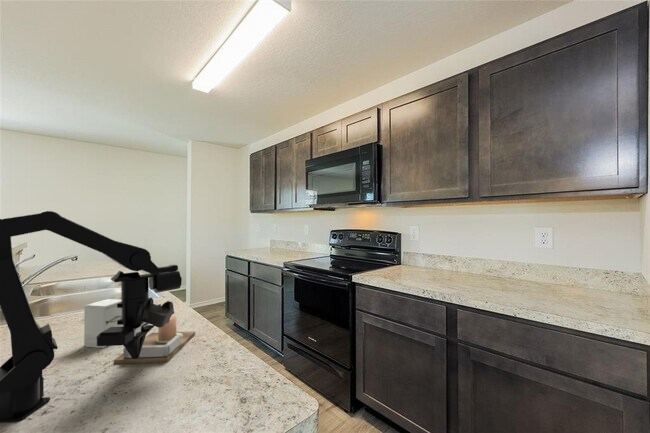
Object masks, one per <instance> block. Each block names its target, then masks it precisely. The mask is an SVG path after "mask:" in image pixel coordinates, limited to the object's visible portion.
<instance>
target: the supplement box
mask: <svg viewBox="0 0 650 433" xmlns="http://www.w3.org/2000/svg"><path fill="white" fill-rule="evenodd" d="M120 302H121V300H120V299H114V298H113V299H111V298H107V299H103V300H99V301H96V302H95V301H94V302H92V303H89V304H86V305H84V307H83V308H84V311H83V312H84V313H83V316H84V324H83V326H84V329H83V330H84V337H83V339H84V340H83V344H84V347H87V348H88V347H89V348H96V349H97V348H98V349H105V348H106V347H107V346H97V345H96V337H97V336H98V335H99V334H100V333H101V332H103V331H105V330H107V329H108V328H110V327H123V325H117V320H119V319H121V318H122V308H117V304H118V303H120Z"/></svg>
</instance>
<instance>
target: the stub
mask: <svg viewBox="0 0 650 433" xmlns="http://www.w3.org/2000/svg"><path fill="white" fill-rule="evenodd" d="M177 318H178V317H177V316H176V315H171V318H170V321H169V323H166V324H165V325H164V326H163V327H157V329H158V331H157V333H158V340H159V341H168V340H172V339H173V338H174V337H175V336H177V332H178V330H177V326H178V325H177V324H178V323H177Z"/></svg>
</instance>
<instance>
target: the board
mask: <svg viewBox="0 0 650 433" xmlns="http://www.w3.org/2000/svg"><path fill="white" fill-rule="evenodd" d="M195 335H196V331H194V330H193V331H177V336H180V345H179V346H178V347H177V348H175V349H174V350H173V351H172V352H171V353H170V354H169V355H168V356H160V357H138V358H137V359H132V358H124V352H123V353H122V354H120V355H119V356H116V358H115V359H113V364H114V365H116V364H119V365H120V364H121V365H122V364H143V363H147V364H148V363H168V362H169V361H170V360H171V359H172V358H173V357H174V356H175V355H176V354H177V353H178V352H179V351H180V350H181V349H182V348H183V347H184V346H185V345H187V343H188V342H189V341H191V340H192V338H194V336H195ZM169 341H170V340H168V341H159V340H158V332H150V334H148V335H146V337H145V339H144V346H154V345H166V344H167V343H168V342H169Z"/></svg>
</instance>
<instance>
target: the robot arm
mask: <svg viewBox="0 0 650 433" xmlns="http://www.w3.org/2000/svg"><path fill="white" fill-rule="evenodd" d="M42 231H48V232H50V233H53V234H56V235H58V236H61V237H64V238H65V239H67V240H70V241H72V242H75V243H77V244H79V245H82V246H85V247H87V248H89V249H92V250H94V251H97V252H98V253H101V254H103V255H105V257H107V258H109V259H111V261H112V262H115V263H117V264H118V265H120V266H121V267H123V268H125V269H128V270H129V271H130V270H131V271H132V272H125V273H124V272H123V271H121V270H118V272H117V273H116V274H115V275H114V276H112V277H111V278H110V280H111V281H112V282H114V283H120V286H121V287H120V291H121V292H120V293H121V294H120V295H121V296H120V298H121V302H120V303H118V304H117V308H122V318H121V319H119V320H117V325H123V327H110V328H108V329H107V330H105V331H103V332H101V333H100V334H99V335H98V336H97V337H96V345H97V346H106V347H118V346H119V347H120V346H124V347H123V348H126V350H127V351H128V353H129V354H130V356H131V357H132V359H137V358H138V357H139V355H140V352H141V349H142V346H143V343H144V339H145V337H147V334H148V333H149V332H150V331H151V330H152V329H153V328H155V327H156V328H158V327H163V326H164V325H165V324H166V323H169V321H170V318H171V316H174V314H175V311H174V310H175V308H174V302H172V301H170V300H166V301H165V302H164V303H163V304H160V303H159V304H156V303H155V304H154V299H153V297H150V295H149V290H150V291H152V290H153V292H154V293H155V294H157V293H162V292H167V291H168V292H169V291H174V290H178V289H181V287H182V281H183V280H182V279H183V278H182V277H181V273H180V270H179V266H178V264H169V265H166V266H160V267H159V266H157V265H156V264H155V263H154V262H153V260H152V256H151V253H150V252H149V250H147V249H145V248H143V247H140V246H136V245H132V244H128V243H124V242H121V241H117V240H114V239H112V238H109V237H107V236H105V235H103V234H100V232H97V231H94V230H92V229H90V228H88V227H86V226H83V225H81V224H79V223H77V222H75V221H72V220H70V219H68V218H66V217H65V216H64V217H63V216H62V215H60V214H59V213H57V212H55V211H52V210H45V211H42V212H40V213H34V214H33V213H32V214H27V215H21V216H19V215H18V216H14V217H7V218H0V309H1V312H2V315H3V317H4V320H5V323H6V325H7V328H8V330H9V333H10V343H11V344H10V346H11V357H9V358H8V359H7V360H6V361H5V362H3V364H2V365H0V421H10V422H19V421H18V420H20V421H22V420H23V419H25V418H26V417H28V416H29V415H31V414H32V413H34V412H35V411H36V410H38V409H39V408H40V407H41V408H42V406H44V405H45V404H47V403H48V402H50V401H51V397H49V396H48V397H44V395H45V394H44V393H45V392H44V388H45V387H44V379H45V378H44V377H43V371H44V370H45V369H46V368H47V367H48V366H50V365H51V363H52V362H53V360H55V350H57V349H58V348H59V347H58V345H57V341H56V339H55V338H54V337H53V333H52V332H53V331H52V329H51V325H50V324H49V323H48V324H45V325H43V326H40V325H39V324H38V322H37V321H36V319H35V317H34V314H33V311H32V308H31V305H30V303H29V300H28V298H27V294H26V292H25V289H24V287H23V284H22V280H21V279H20V276H19V273H18V269H17V267H16V264H15V261H14V259H13V258H14V257H13V247H12V237H17V236H23V235H26V234H27V235H28V234H32V233H38V232H42ZM139 271H143V272H145V274H140V272H139ZM21 419H22V420H21Z"/></svg>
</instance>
